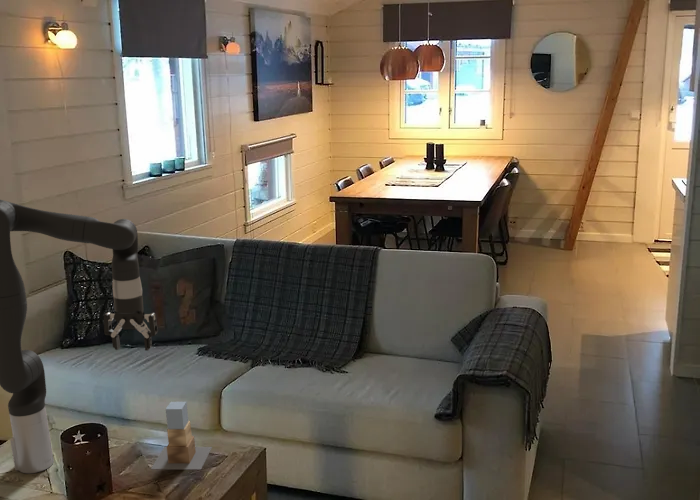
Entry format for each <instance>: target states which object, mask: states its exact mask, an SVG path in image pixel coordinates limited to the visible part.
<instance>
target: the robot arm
mask: <svg viewBox="0 0 700 500" xmlns="http://www.w3.org/2000/svg"><path fill="white" fill-rule="evenodd" d="M11 232H29V233H37V234H41V235H45V236H48V237H51V238H54V239H57V240H62V241H65V242H66V241H67V242H74V243H82V244H92V245H95V246H99V247H102V248H106V249H110V250H112V258H111V274H112V295H113V306H114V313H112V312H111V311H108V312H106V313H105V314H104V315H103V332H104V333H103V334H104V335H105V336H110V337H111V342H112V343H111V344H112V348H113V349H114V350H116V351H117V350H120V348H121V341H120V334H119V333H120V332H121V331H122V329H123V330H132V331H135V330H137V331H138V332H139V333H141V334H142V336H143V341H144V351H147V352H148V351H149V350H150V349H151V348H152V346H153V341H152V337H155V336H156V334H158V332H159V328H158V323H157V320H158V319H157V314H156V313H155V312H151V313H145V311H144V299H143V298H144V297H143V287H142V286H143V285H142V281H141V277H140V276H141V275H140V264H139V256H138V253H139V252H138V247H139V239H138V237H139V236H138V235H139V234H138V229H137V227H136V224H134V222H133V221H131V220H130V219H127V218H120V219H117V220H115V221H114V222H113V223H112V222H107V221H106V222H105V221H100V220H99V219H98V218H96V217H93V216H86V215H79V214H70V213H62V212H55V211H54V212H53V211H49V210H42V209H36V208H32V207H28V206H24V205H22V204H18V203H15V202H11V201H7V200H4V199H0V387H1V388H2V389H3V390H4V391H5V392H7V393H10V394H12V395H11V396H10V399H9V400H8V404H7V408H8V414H9V419H10V425H11V432H12V437H11V438H10V440H9V441H10V447H11V453H12V458H13V459H12V460H13V465H14V471H19V472H20V473H22V474H36V473H40V472H43V471H46V470H47V469H48V468H50V467H51V466H52V465H53V464H54V462H55V461H54V454H53V446H52V439H51V434H50V428H49V427H50V426H49V421H48V415H47V409H46V408H47V407H46V397H47V385H46V384H47V383H46V382H47V381H46V374H45V368H44V363H43V360H42V359H41V357H40V356H39V355H38V353H36V352H35V351H33V350H30V349H23V350H22V335H23V330H24V326H25V323H26V318H27V314H28V313H27V312H28V301H27V295H26V288H25V284H24V280H23V277H22V275H21V273H20V271H19V269H18V267H17V265H16V262H15V260H14V258H13V253H12V252H13V251H12V244H11ZM113 320H115V321H116V323H117V325H116V326H115V328H114V329H113V325H112V323H113ZM145 320H146V321H147V323H148V325H149V327H148V325H147V323H146V322H145Z"/></svg>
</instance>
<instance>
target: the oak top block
mask: <svg viewBox="0 0 700 500" xmlns="http://www.w3.org/2000/svg"><path fill="white" fill-rule="evenodd" d="M192 436H193V434H192V426H191V421H190V420H188V423H187V425H186V427H185V428H184V429H168V428H167V440H168V442H167V443H168V444H169V446H187V445H188V443H189V441H190V439H191V438H192Z"/></svg>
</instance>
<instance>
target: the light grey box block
mask: <svg viewBox="0 0 700 500" xmlns="http://www.w3.org/2000/svg"><path fill="white" fill-rule="evenodd" d="M165 415H166V424H167V425H166V426H167V427H166V428H167V429H184V428H185V427H186V425H187V423H188V421H189V414H188V403H187V401H170V402H169V404H168V405H167V406H166V408H165Z"/></svg>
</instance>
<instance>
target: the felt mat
mask: <svg viewBox="0 0 700 500" xmlns="http://www.w3.org/2000/svg"><path fill="white" fill-rule="evenodd" d="M212 449H213V447H212V446H195V451H196V453H195V454H194V456H193V458H192V460H191V462H190V463H168V455H167V446H164V447H163V448H162V450H161V452H160V453H159V454H158V456H157V458H156V460H155V461H154V462H153V465H152V466H151V468H150V469H151V470H198V471H199V470H202V468H203V467H204V464H205V463H206V461H207V458H208V456H209V454H210V453H211V450H212Z"/></svg>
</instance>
